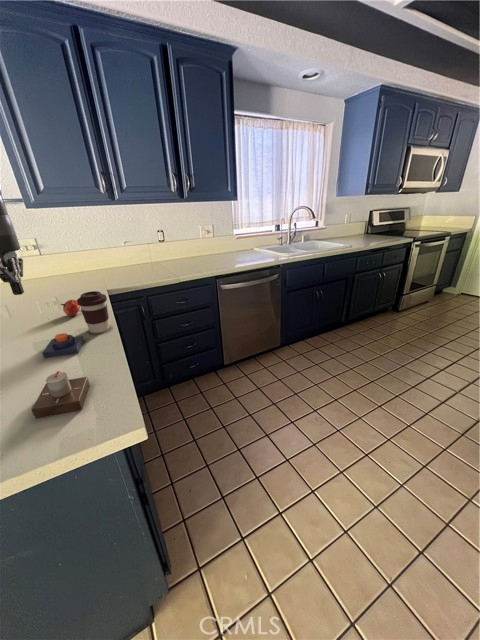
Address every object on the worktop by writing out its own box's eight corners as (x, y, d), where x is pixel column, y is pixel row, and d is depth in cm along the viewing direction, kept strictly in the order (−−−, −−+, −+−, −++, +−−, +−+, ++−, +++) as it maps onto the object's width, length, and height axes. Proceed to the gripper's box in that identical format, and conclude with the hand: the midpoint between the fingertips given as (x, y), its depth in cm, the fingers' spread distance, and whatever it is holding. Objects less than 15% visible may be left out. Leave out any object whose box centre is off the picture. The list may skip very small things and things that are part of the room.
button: (54, 343, 88) (53, 338, 88) (58, 338, 91) (56, 334, 91) (66, 341, 89) (65, 337, 89) (69, 337, 92) (68, 332, 92)
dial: (69, 395, 66) (64, 379, 64) (49, 399, 65) (42, 383, 63) (73, 384, 70) (68, 369, 68) (53, 388, 69) (48, 372, 67)
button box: (44, 358, 87) (40, 348, 85) (53, 345, 94) (49, 335, 93) (78, 353, 89) (75, 343, 88) (84, 340, 97) (81, 331, 95)
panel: (35, 419, 63) (31, 409, 62) (49, 392, 72) (45, 382, 70) (82, 409, 66) (78, 400, 64) (89, 385, 74) (87, 376, 73)
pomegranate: (80, 315, 124) (56, 306, 117) (88, 302, 123) (64, 293, 116) (81, 322, 118) (56, 314, 112) (89, 309, 117) (64, 300, 111)
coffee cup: (86, 337, 99) (76, 300, 93) (84, 327, 107) (75, 292, 101) (115, 331, 104) (106, 295, 98) (111, 322, 112) (103, 288, 105)
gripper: (-7, 230, 75) (13, 288, 83) (-35, 236, 64) (-8, 303, 71) (24, 229, 78) (41, 286, 85) (2, 235, 66) (25, 300, 73)
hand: (19, 294), depth 78 cm, fingers closed
